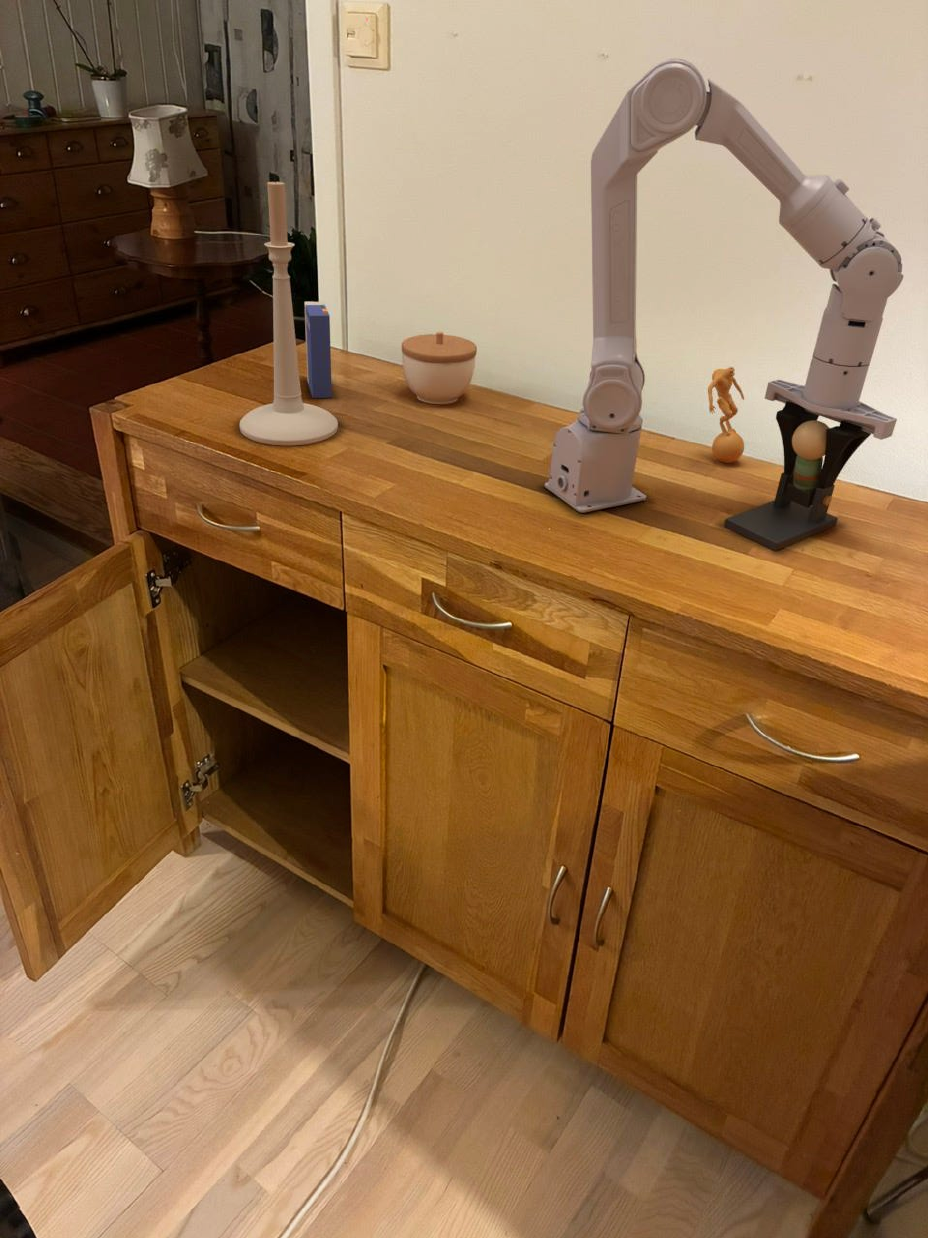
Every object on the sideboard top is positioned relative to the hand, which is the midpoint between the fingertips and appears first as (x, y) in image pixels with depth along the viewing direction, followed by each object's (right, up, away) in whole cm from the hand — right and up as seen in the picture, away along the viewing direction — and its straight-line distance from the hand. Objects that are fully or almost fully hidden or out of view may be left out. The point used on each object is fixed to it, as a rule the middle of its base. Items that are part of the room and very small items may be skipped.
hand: (808, 479), depth 103 cm
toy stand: (-3, -5, +1) cm, 6 cm away
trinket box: (-43, +17, +32) cm, 56 cm away
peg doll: (0, -2, +1) cm, 2 cm away
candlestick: (-62, +10, +19) cm, 65 cm away
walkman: (-60, +18, +32) cm, 70 cm away
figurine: (-5, +5, +17) cm, 19 cm away
